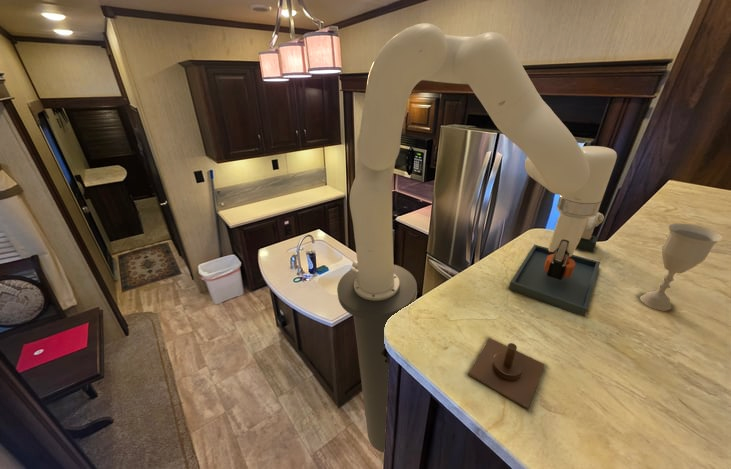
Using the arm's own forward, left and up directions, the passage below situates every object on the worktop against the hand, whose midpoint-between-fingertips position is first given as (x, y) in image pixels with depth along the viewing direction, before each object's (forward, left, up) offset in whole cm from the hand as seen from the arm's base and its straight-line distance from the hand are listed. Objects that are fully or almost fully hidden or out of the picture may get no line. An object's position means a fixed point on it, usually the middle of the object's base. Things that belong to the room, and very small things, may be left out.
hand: (557, 269), depth 72 cm
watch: (+3, +21, -3) cm, 21 cm away
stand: (-1, -34, -3) cm, 34 cm away
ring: (0, 0, 0) cm, 0 cm away
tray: (0, 0, -3) cm, 3 cm away
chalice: (+19, +3, -3) cm, 19 cm away
